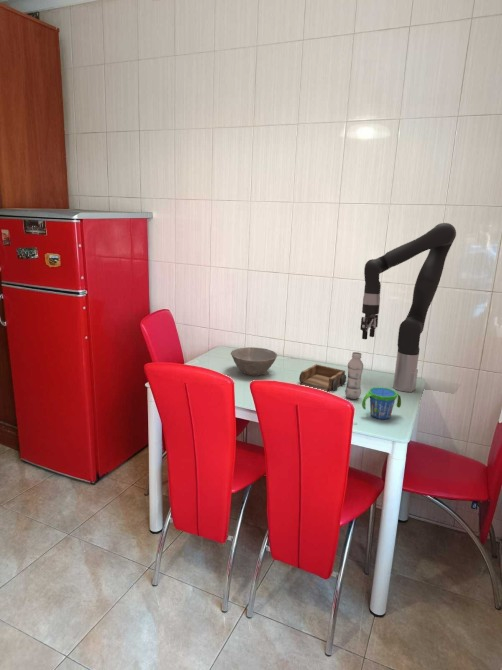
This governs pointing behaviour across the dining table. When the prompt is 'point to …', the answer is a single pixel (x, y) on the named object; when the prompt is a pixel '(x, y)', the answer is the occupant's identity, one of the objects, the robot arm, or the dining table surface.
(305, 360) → the dining table surface
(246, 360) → the ceramic bowl
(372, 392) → the snack cup
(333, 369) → the tray
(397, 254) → the robot arm
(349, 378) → the grey ridged cylindrical piece
